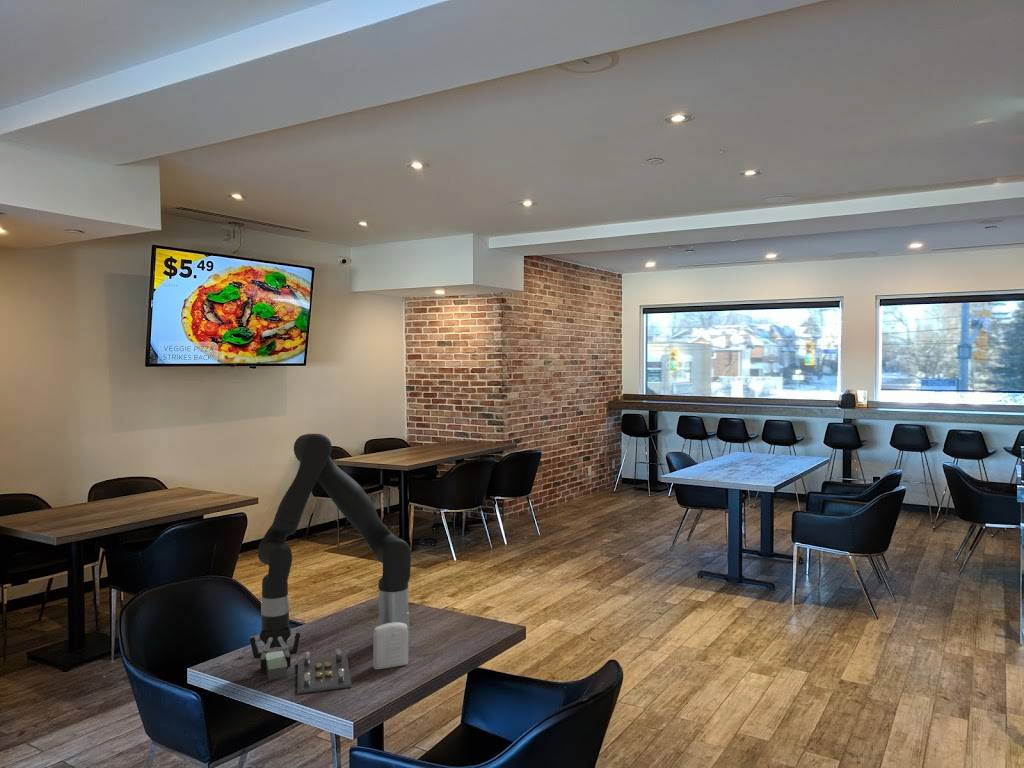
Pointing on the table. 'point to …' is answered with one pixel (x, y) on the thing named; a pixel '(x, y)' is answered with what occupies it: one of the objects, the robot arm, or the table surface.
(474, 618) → the table surface
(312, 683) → the plate
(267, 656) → the grey green block
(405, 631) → the photo printer
